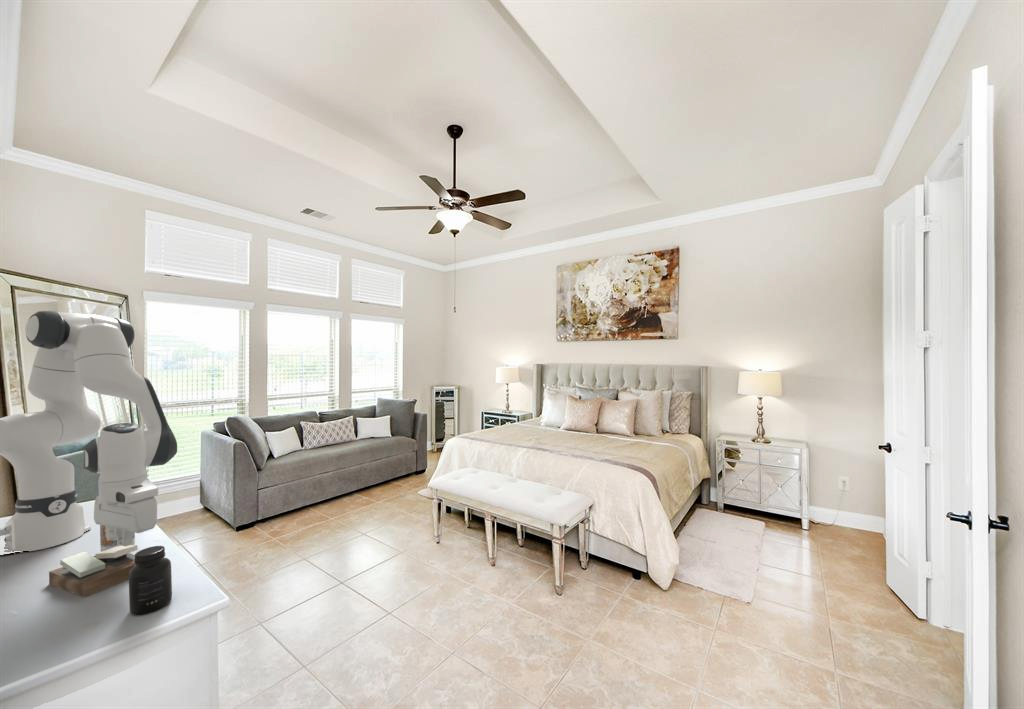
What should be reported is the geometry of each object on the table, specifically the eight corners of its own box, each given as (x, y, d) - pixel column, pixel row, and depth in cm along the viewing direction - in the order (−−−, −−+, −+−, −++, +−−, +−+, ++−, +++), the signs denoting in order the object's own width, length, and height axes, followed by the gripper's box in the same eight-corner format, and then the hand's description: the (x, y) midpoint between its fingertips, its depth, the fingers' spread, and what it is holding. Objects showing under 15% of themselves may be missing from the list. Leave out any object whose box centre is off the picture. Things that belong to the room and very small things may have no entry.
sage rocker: (60, 564, 96) (60, 559, 96) (85, 555, 100) (85, 551, 100) (79, 577, 93) (80, 572, 93) (104, 568, 97) (105, 563, 97)
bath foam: (97, 558, 110) (95, 484, 110) (104, 548, 115) (103, 478, 116) (131, 551, 114) (130, 479, 114) (137, 542, 119) (136, 473, 120)
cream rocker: (95, 558, 102) (95, 553, 102) (118, 550, 106) (117, 546, 106) (115, 557, 99) (115, 552, 99) (137, 549, 103) (137, 544, 103)
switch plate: (49, 584, 97) (49, 567, 97) (113, 560, 108) (113, 545, 108) (84, 597, 91) (84, 579, 91) (149, 570, 102) (149, 554, 102)
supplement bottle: (128, 607, 87) (127, 550, 87) (170, 593, 92) (169, 540, 92) (129, 621, 82) (128, 561, 82) (173, 606, 87) (172, 549, 87)
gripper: (84, 489, 103) (85, 544, 102) (131, 497, 95) (132, 556, 95) (116, 482, 108) (117, 534, 108) (162, 488, 101) (164, 544, 101)
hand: (124, 544), depth 101 cm, fingers closed
